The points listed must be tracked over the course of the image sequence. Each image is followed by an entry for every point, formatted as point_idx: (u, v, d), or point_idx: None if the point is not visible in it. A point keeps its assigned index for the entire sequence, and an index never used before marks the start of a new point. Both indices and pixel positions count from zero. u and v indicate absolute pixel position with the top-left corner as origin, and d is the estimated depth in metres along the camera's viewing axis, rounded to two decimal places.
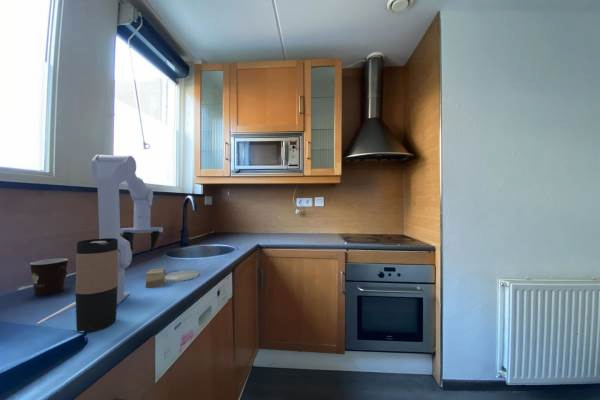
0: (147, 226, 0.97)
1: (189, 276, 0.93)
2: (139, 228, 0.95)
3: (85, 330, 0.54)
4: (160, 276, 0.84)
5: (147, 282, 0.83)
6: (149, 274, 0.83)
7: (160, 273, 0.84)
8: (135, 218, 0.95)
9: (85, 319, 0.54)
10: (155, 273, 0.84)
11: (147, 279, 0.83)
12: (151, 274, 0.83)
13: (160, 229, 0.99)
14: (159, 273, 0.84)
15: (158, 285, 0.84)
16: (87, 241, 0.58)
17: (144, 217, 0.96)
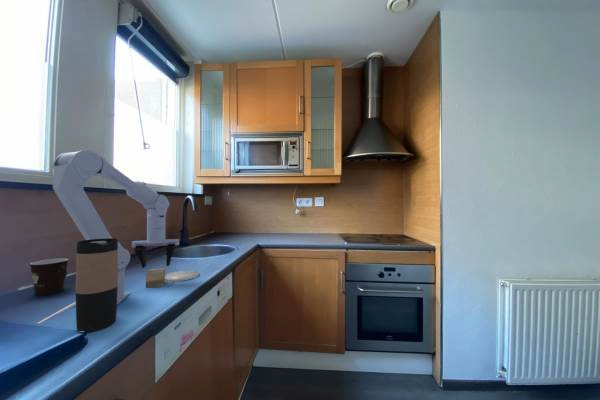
0: (162, 239, 0.85)
1: (189, 276, 0.93)
2: (153, 241, 0.83)
3: (85, 330, 0.54)
4: (160, 276, 0.84)
5: (147, 282, 0.83)
6: (149, 274, 0.83)
7: (160, 273, 0.84)
8: (149, 230, 0.84)
9: (85, 319, 0.54)
10: (155, 273, 0.84)
11: (147, 279, 0.83)
12: (151, 274, 0.83)
13: (176, 242, 0.87)
14: (159, 273, 0.84)
15: (158, 285, 0.84)
16: (87, 241, 0.58)
17: (159, 229, 0.84)
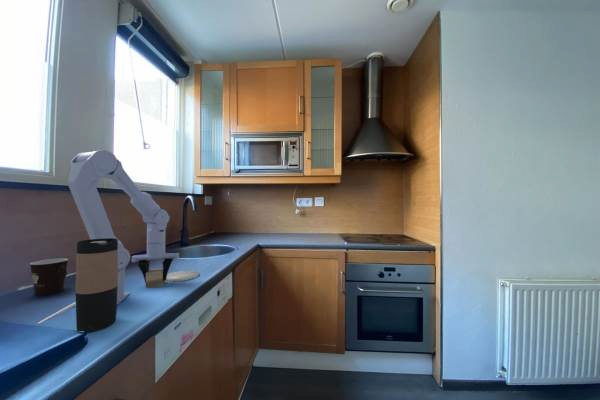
0: (162, 253, 0.85)
1: (189, 276, 0.93)
2: (153, 256, 0.83)
3: (85, 330, 0.54)
4: (160, 276, 0.84)
5: (147, 282, 0.83)
6: (149, 274, 0.83)
7: (160, 273, 0.84)
8: (148, 244, 0.84)
9: (85, 319, 0.54)
10: (155, 273, 0.84)
11: (147, 279, 0.83)
12: (151, 274, 0.83)
13: (176, 256, 0.87)
14: (159, 273, 0.84)
15: (158, 285, 0.84)
16: (87, 241, 0.58)
17: (159, 243, 0.84)
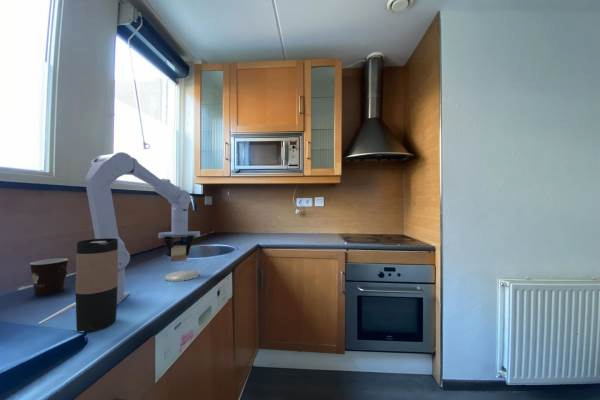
0: (185, 230, 0.94)
1: (189, 276, 0.93)
2: (178, 232, 0.92)
3: (85, 330, 0.54)
4: (184, 251, 0.93)
5: (172, 256, 0.91)
6: (174, 249, 0.92)
7: (184, 248, 0.93)
8: (173, 222, 0.92)
9: (85, 319, 0.54)
10: (179, 248, 0.92)
11: (172, 253, 0.91)
12: (176, 249, 0.92)
13: (198, 233, 0.96)
14: (183, 248, 0.93)
15: (182, 259, 0.92)
16: (87, 241, 0.58)
17: (182, 221, 0.93)
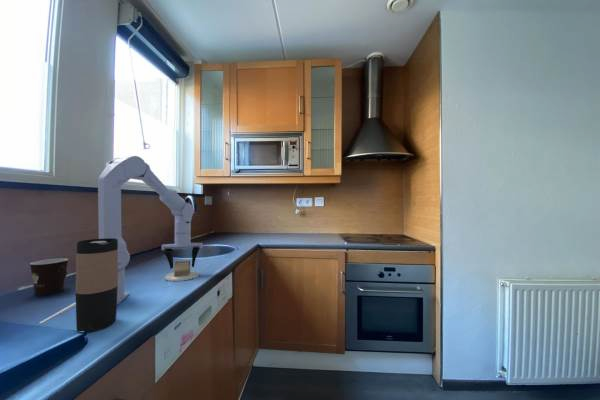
0: (188, 242, 0.95)
1: (189, 276, 0.93)
2: (181, 245, 0.93)
3: (85, 330, 0.54)
4: (187, 266, 0.94)
5: (175, 272, 0.92)
6: (177, 264, 0.93)
7: (187, 264, 0.94)
8: (176, 234, 0.93)
9: (85, 319, 0.54)
10: (182, 264, 0.93)
11: (175, 269, 0.92)
12: (179, 264, 0.93)
13: (200, 245, 0.97)
14: (186, 264, 0.94)
15: (185, 274, 0.93)
16: (87, 241, 0.58)
17: (185, 233, 0.94)
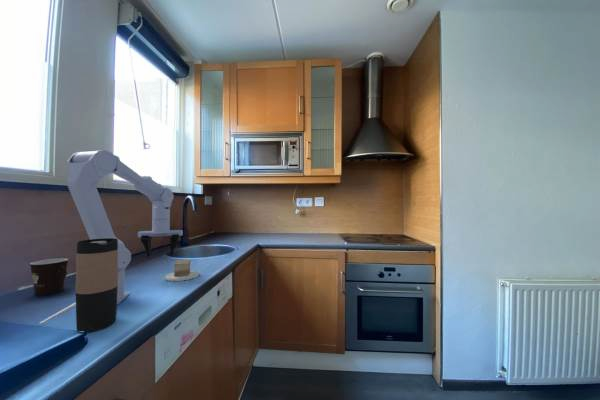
0: (166, 229, 0.90)
1: (189, 276, 0.93)
2: (158, 231, 0.88)
3: (85, 330, 0.54)
4: (187, 266, 0.94)
5: (175, 272, 0.92)
6: (177, 264, 0.93)
7: (187, 264, 0.94)
8: (154, 220, 0.88)
9: (85, 319, 0.54)
10: (182, 264, 0.93)
11: (175, 269, 0.92)
12: (179, 264, 0.93)
13: (180, 232, 0.92)
14: (186, 264, 0.94)
15: (185, 274, 0.93)
16: (87, 241, 0.58)
17: (163, 219, 0.89)
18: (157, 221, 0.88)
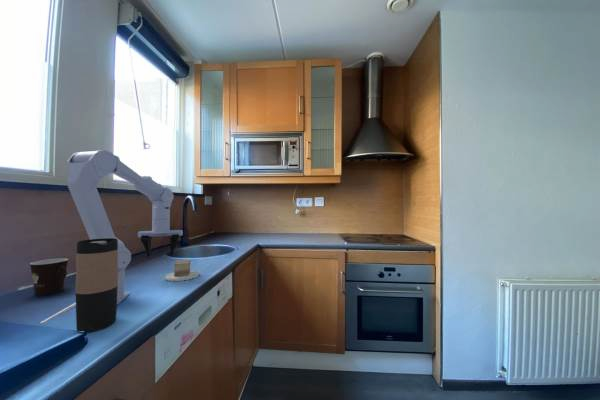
0: (166, 229, 0.90)
1: (189, 276, 0.93)
2: (158, 231, 0.88)
3: (85, 330, 0.54)
4: (187, 266, 0.94)
5: (175, 272, 0.92)
6: (177, 264, 0.93)
7: (187, 264, 0.94)
8: (154, 220, 0.88)
9: (85, 319, 0.54)
10: (182, 264, 0.93)
11: (175, 269, 0.92)
12: (179, 264, 0.93)
13: (180, 232, 0.92)
14: (186, 264, 0.94)
15: (185, 274, 0.93)
16: (87, 241, 0.58)
17: (163, 219, 0.89)
18: (157, 221, 0.88)
